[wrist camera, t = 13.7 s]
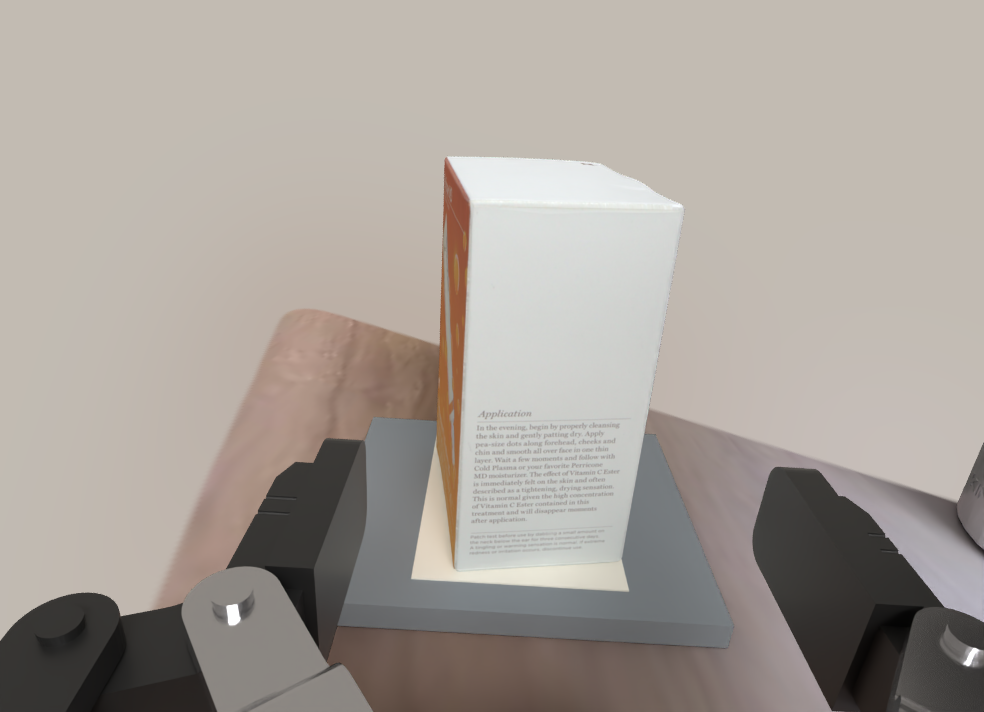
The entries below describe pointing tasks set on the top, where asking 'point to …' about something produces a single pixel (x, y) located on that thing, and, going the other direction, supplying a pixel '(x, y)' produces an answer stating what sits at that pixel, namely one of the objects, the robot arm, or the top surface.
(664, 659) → the top surface
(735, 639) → the top surface
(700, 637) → the base board
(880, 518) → the top surface
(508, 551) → the small box
